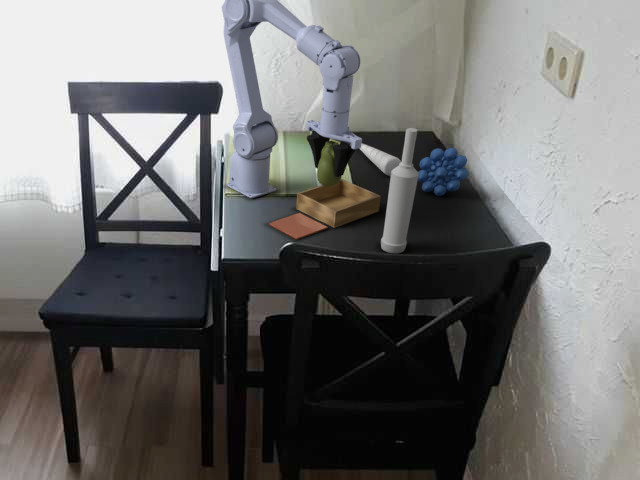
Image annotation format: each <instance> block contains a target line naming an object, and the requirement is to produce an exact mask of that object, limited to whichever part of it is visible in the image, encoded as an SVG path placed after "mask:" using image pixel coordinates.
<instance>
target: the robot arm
mask: <svg viewBox="0 0 640 480" xmlns="http://www.w3.org/2000/svg"><path fill="white" fill-rule="evenodd" d="M221 12H222V17H223V23H224V24H223V38H224V45H225V49H226V54H227V58H228V64H229V69H230V73H231V79H232V80H231V81H232V85H233V90H234V94H235V99H236V104H237V109H238V116H237V118H236V119H235V121H234V123H233V124H232V129H233V138H232V145H233V148H234V152H233V153H232V155H231V158H230V160H229V163H230V164H229V183H227V184H226V186H227V187H228V188H230V189H232V190H234V191H235V192H238V193H240V194H242V195H244V196H246V197H247V198H248V199H249V198H250V199H255V198H258V197H261V196H264V195H268V194H271V193H273V192H276V191H277V188H276V187H274V186H271V185H270V173H271V172H270V170H271V153H273V148H274V147H275V146H276V145H277V143H278V140H279V133H278V129H277V128H276V126H275V124H274V122H273V118H272V117H273V116H272V115H271V114H269V112H268V111H266V110H265V109H264V107H263V101H262V96H261V90H260V86H259V85H260V84H259V79H258V74H257V70H256V63H255V58H254V53H253V47H252V44H251V43H252V42H251V36H252V35H253V34H254V31H255V30H256V28H257V27H258V26H259V25H260V24H262V23H263V22H264V23H269V24H271V25H272V26H273V27H275V28H276V29H278V30H279V31H281V32H283V34H285V35H287V36H288V37H289V38H291V39H292V40H294V41H295V44H296V49H297V50H298V51H299V52H300V53H301V54H303V55H304V56H305V57H306V58H308V59H309V60H310V61H312V62H313V63H314V64H315V65H316V66H318V67H319V72H320V74H321V76H322V86H323V91H322V101H321V112H320V120H319V121H318V120H314V119H310V120H307V121H306V122H305V131H306V132H311V133H310V134H309V135H307V136H306V141H307V142H308V145H309V147H310V150H311V153H312V157H313V163H314V168H315V169H318V164H319V161H320V159H321V151H322V149H323V147H324V146H325V144H326V142H327V141H331V140H332V141H335V142H338V145H335V146H333V151H334V157H335V168H334V175H335V177H339V176H344V174H345V172H346V169H347V166H348V165H349V162H350V160H351V159H352V156H353V155H354V153H355V152H356V151H357V150H358V149H359V148H361V145H362V144H363V138H362V137H359V136H357V134H355V133H354V132H352V131H351V130H350V127H349V117H350V110H351V109H350V108H351V101H352V100H351V99H352V91H353V84H354V83H353V82H354V75H355V74H356V73H357V72H359V69H360V67H361V55H360V54H359V52H358V50H356V49H355V47H354V46H353V45H349V44H345V45H342V44H341V42H340V41H339V40H335V39H334V38H333V37H332V36H330V35H329V34H327V32H325V30H324V27H323V26H321V25H315V24H311V25H308V26H307V25H306V24H305V23H304V22H302V21H301V20H300V19H299V18H298V17H297V16H295V14H294V13H293V12H291V11H290V10H289V9H288V8H287V7H286V6H285V5H283V4H282V3H281V2H280V0H224V2H223V4H222V5H221Z"/></svg>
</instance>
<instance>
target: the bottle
mask: <svg viewBox="0 0 640 480" xmlns="http://www.w3.org/2000/svg"><path fill="white" fill-rule="evenodd" d="M417 136H418V129H417V128H414V127H408V128H406V130H405V136H404V144H403V149H402V155H401V163H399V166H397V167H396V168H394V169H393V170H392V171H391V176H390V178H389V179H390V180H389V187H388V196H387V203H386V211H385V219H384V225H383V226H384V227H383V234H382V237H381V239H380V247H381V250H383V251H384V252H387V253H390V254H401V253H404V251H405V250H406V247H407V245H408V240H407V237H408V236H407V235H408V232H409V227H410V221H411V217H412V216H411V215H412V211H413V205H414V200H415V195H416V190H417V185H418V175H419V174H418V172H419V171H417V170H416V168H415V167H414V163H413V158H414V153H415V147H416V146H415V145H416V140H417Z"/></svg>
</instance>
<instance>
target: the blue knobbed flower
mask: <svg viewBox="0 0 640 480" xmlns="http://www.w3.org/2000/svg"><path fill="white" fill-rule="evenodd" d="M458 153H459V152H458V149H457V148H455V147H449V148H446V150H443V149H442V148H439V147H438V148H437V147H436V148H435V149H432V151H431V152H430V155H429V157H428V156H426V157H423V158H421V160H420V161H419V164H418V165H419V168H420V169H421V170H419V171H417V172H418V174H419V175H418V180H417V182H420V183H422V185H421V189H422V191H423V192H424V193H430V192H432V191H433V194H434V195H435V196H437V197H441V196H444V195H445V194H446V193H447V191H449V192H451V193H452V192H455V191H457V190H459V188H460V186H461V182H460V181H463V180H466V179H467V178H468V176H469V170H468V168H466V165H467V164H468V158H467V157H466V155H463V154H460V155H458Z"/></svg>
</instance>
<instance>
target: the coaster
mask: <svg viewBox="0 0 640 480" xmlns="http://www.w3.org/2000/svg"><path fill="white" fill-rule="evenodd" d="M268 226H270V227H272V228H274V229H276V230H278V231H280V232H281V233H283V234H285V235H287V236H288V237H291V238H293V239H294V240H296V241H297V240H301V239H303V238H306V237H308V236H311V235H315V234H317V233H319V232H322V231H326V230H328V226H326V225H324V223H322V222H321V223H320V222H319V221H318V220H317V221H316V219H314V218H313V219H312V217H310V216H306V215H304V213H302V212H301V213H300V212H298V213H294V214H291V215H289V216H286V217H283V218H280V219H277V220H274V221H271V222H268Z"/></svg>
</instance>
